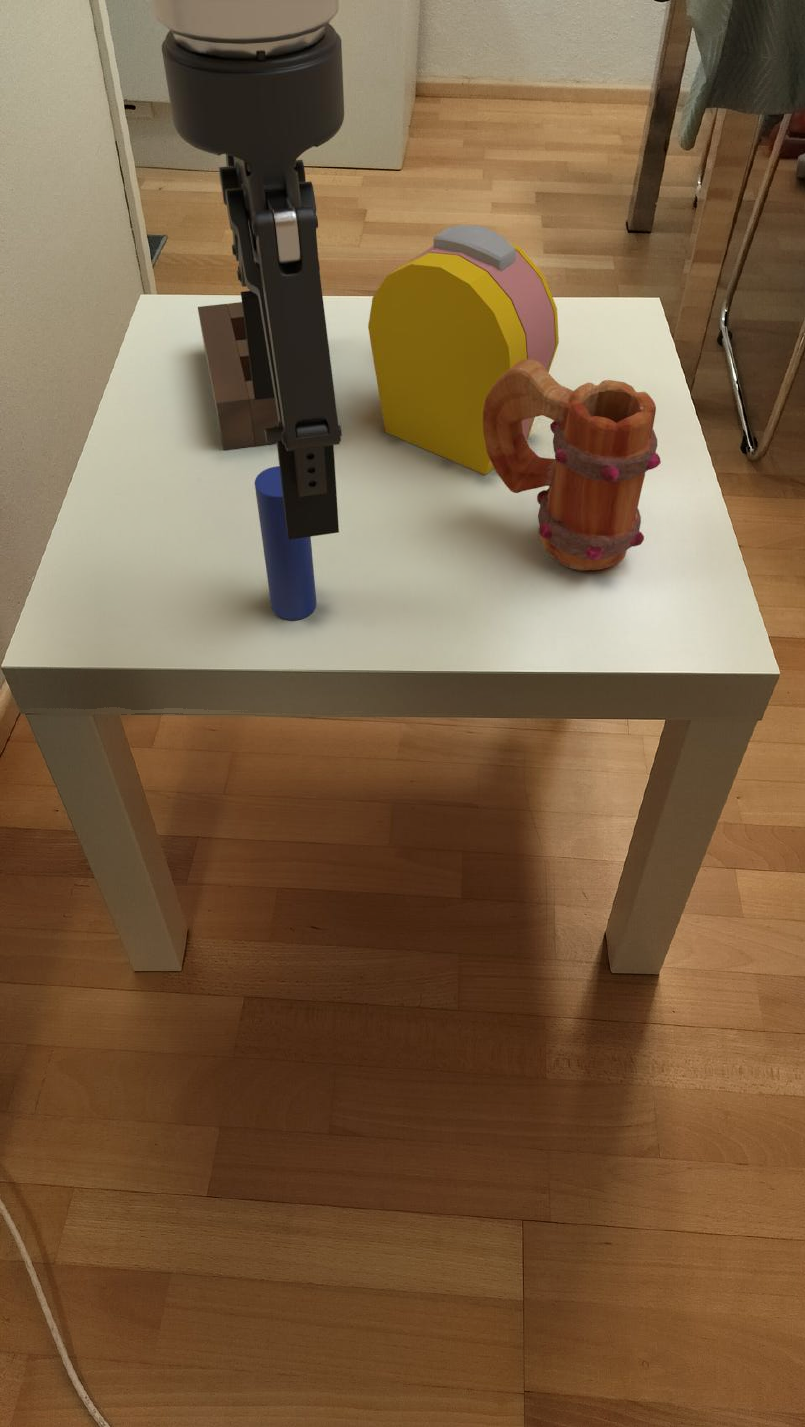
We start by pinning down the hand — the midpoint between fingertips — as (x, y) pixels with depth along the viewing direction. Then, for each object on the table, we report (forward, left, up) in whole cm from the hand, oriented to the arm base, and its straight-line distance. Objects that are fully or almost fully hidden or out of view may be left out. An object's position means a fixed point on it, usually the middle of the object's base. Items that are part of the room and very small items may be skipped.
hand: (293, 458), depth 58 cm
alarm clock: (+19, +30, -21) cm, 41 cm away
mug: (+23, +13, -21) cm, 34 cm away
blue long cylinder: (0, +10, -21) cm, 23 cm away
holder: (+2, +41, -21) cm, 46 cm away
